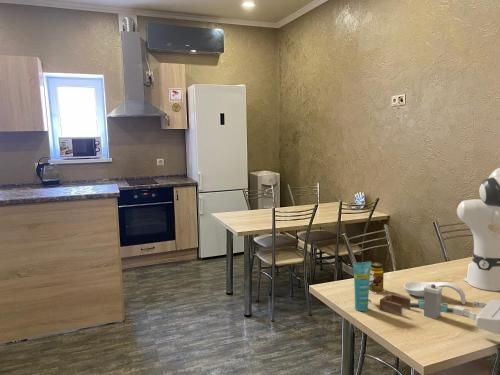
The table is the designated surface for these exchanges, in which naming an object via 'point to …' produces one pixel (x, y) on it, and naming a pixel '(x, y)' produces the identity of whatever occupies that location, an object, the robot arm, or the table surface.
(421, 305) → the clip
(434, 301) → the grey block with knob
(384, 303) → the holder
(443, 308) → the clip
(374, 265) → the condiment
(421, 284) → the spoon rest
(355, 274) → the tube
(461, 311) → the cable
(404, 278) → the table surface
